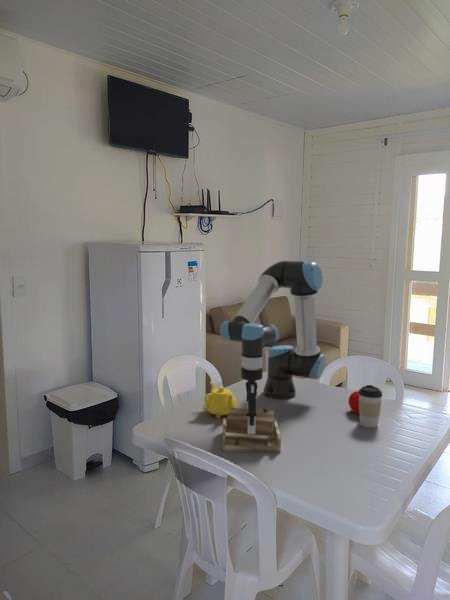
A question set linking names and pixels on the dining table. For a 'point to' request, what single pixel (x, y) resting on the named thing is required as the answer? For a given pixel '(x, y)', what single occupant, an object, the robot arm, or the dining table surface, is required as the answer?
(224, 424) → the box
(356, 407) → the tomato
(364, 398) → the coffee cup
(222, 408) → the teapot
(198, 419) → the dining table surface
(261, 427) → the door
